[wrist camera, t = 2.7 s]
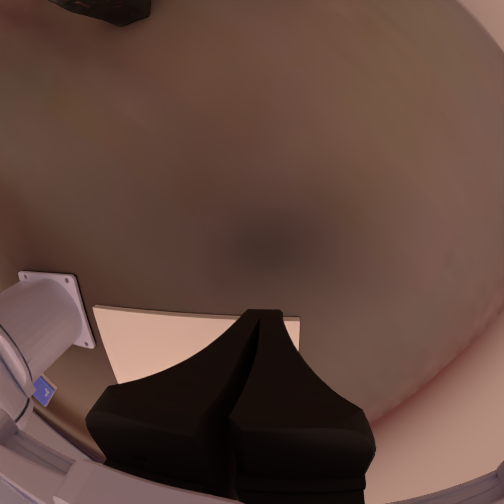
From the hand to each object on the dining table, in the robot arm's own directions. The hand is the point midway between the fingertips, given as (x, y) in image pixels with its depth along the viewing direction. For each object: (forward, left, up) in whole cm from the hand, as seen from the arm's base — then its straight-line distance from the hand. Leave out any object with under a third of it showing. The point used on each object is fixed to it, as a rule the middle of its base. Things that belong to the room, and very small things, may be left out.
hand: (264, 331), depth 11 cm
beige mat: (-7, -12, -10) cm, 17 cm away
